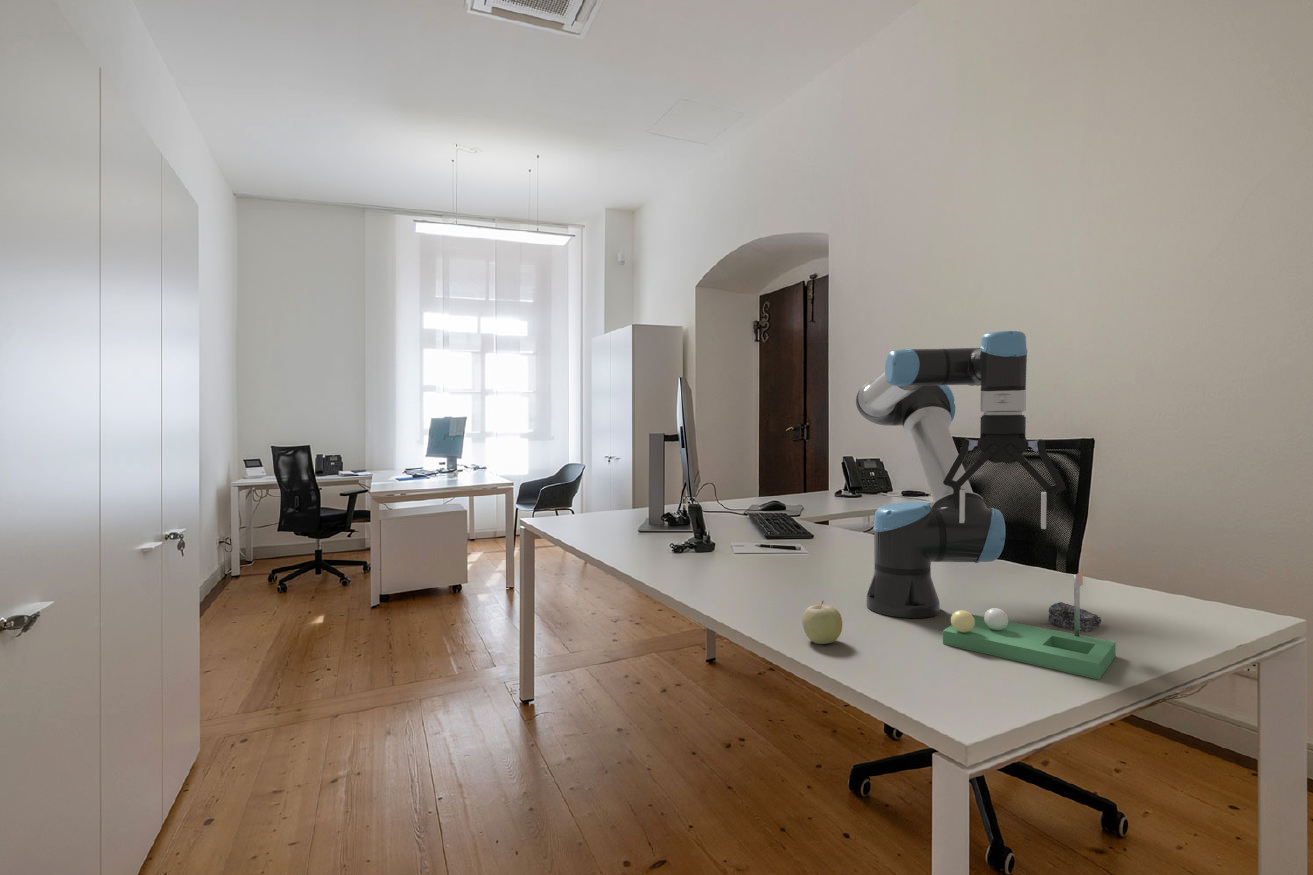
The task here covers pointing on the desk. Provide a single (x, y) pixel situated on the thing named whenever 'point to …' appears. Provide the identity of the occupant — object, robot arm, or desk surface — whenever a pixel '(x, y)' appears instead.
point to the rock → (1072, 617)
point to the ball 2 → (996, 619)
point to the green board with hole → (1037, 647)
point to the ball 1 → (962, 621)
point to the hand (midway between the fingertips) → (1001, 524)
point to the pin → (1077, 602)
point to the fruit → (822, 623)
